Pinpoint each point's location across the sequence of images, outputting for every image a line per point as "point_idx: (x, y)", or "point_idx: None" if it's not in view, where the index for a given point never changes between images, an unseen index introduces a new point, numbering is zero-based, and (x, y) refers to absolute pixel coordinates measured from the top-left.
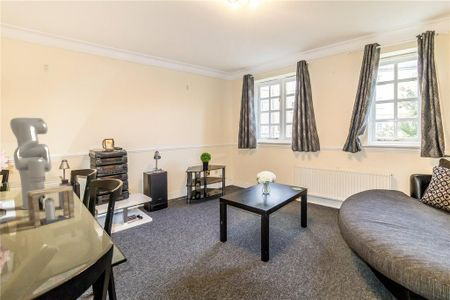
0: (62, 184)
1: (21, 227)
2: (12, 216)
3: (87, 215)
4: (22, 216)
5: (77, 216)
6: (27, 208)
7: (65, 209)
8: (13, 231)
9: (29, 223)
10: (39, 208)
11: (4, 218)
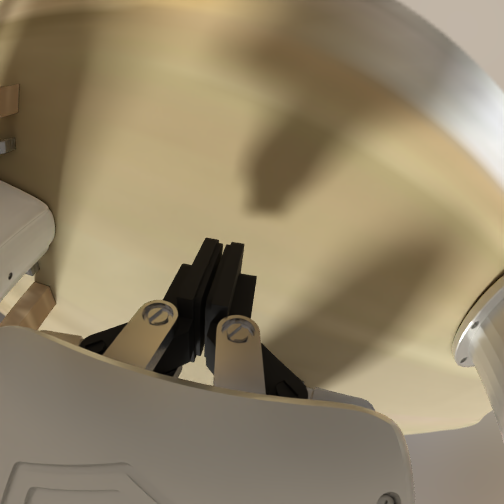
0: None
1: (16, 39)
2: (466, 113)
3: (4, 313)
4: (370, 134)
5: (7, 295)
6: (500, 282)
7: (12, 314)
8: (2, 8)
9: (12, 85)
10: (180, 273)
11: (468, 55)
